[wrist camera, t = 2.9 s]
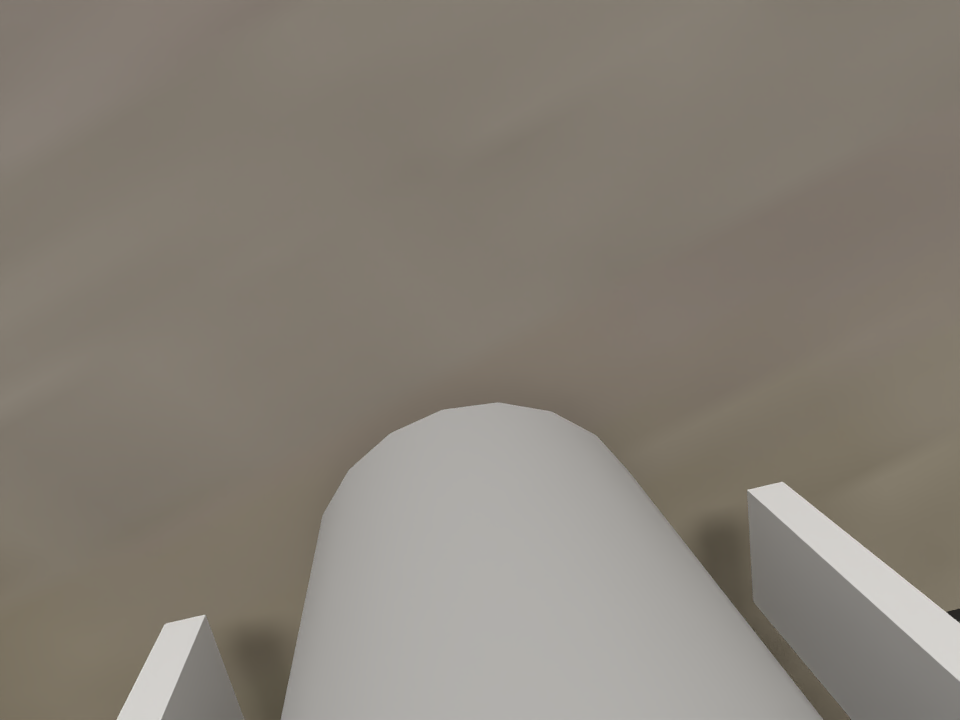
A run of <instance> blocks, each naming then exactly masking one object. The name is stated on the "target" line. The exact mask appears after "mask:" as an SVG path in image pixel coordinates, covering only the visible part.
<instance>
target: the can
mask: <svg viewBox="0 0 960 720" xmlns="http://www.w3.org/2000/svg"><path fill="white" fill-rule="evenodd" d="M281 720H823V718H822V717H821V716H820V715H819V713H818V712H817V711H816V710H815V708H814V707H813V706H812V704H811V703H810V702H809V701H808V699H807V698H806V697H805V695H804V694H803V693H802V692H801V690H800V689H799V688H798V687H797V685H796V684H795V683H794V681H793V680H792V679H791V678H790V676H789V675H788V674H787V673H786V671H785V670H784V669H783V667H782V666H781V665H780V664H779V662H778V661H777V660H776V659H775V657H774V656H773V655H772V653H771V652H770V651H769V650H768V648H767V647H766V646H765V644H764V643H763V642H762V641H761V639H760V638H759V637H758V636H757V634H756V633H755V632H754V630H753V629H752V628H751V627H750V625H749V624H748V623H747V622H746V620H745V619H744V618H743V616H742V615H741V614H740V613H739V611H738V610H737V609H736V607H735V606H734V605H733V604H732V602H731V601H730V600H729V599H728V597H727V596H726V595H725V593H724V592H723V591H722V590H721V588H720V587H719V586H718V585H717V583H716V582H715V581H714V579H713V578H712V577H711V576H710V574H709V573H708V572H707V571H706V569H705V568H704V567H703V565H702V564H701V563H700V562H699V560H698V559H697V558H696V556H695V555H694V554H693V553H692V551H691V550H690V549H689V548H688V546H687V545H686V544H685V542H684V541H683V540H682V539H681V537H680V536H679V535H678V534H677V532H676V531H675V530H674V528H673V527H672V526H671V525H670V523H669V522H668V521H667V520H666V518H665V517H664V516H663V514H662V513H661V512H660V511H659V509H658V508H657V507H656V505H655V504H654V503H653V502H652V500H651V499H650V498H649V497H648V495H647V494H646V493H645V491H644V490H643V489H642V488H641V486H640V485H639V484H638V483H637V481H636V480H635V479H634V477H633V476H632V475H631V474H630V472H629V471H628V470H627V469H626V468H625V467H624V465H623V464H622V463H621V462H620V461H619V460H618V459H617V458H616V457H615V456H614V454H613V453H612V452H611V451H610V450H609V449H608V448H607V447H606V446H605V444H604V443H603V442H602V441H601V440H600V439H599V438H598V437H597V436H596V435H595V434H593V433H591V432H589V431H587V430H585V429H583V428H581V427H580V426H578V425H576V424H574V423H572V422H570V421H568V420H566V419H565V418H563V417H561V416H559V415H557V414H555V413H553V412H551V411H545V410H539V409H534V408H528V407H522V406H516V405H510V404H504V403H499V402H498V403H490V404H483V405H475V406H467V407H460V408H452V409H445V410H441V411H439V412H436V413H434V414H432V415H430V416H427V417H425V418H423V419H421V420H419V421H416V422H414V423H412V424H410V425H407V426H405V427H403V428H401V429H399V430H396V431H394V432H392V433H390V434H389V435H388V436H387V437H386V438H384V439H383V440H382V441H381V442H380V443H379V444H378V445H376V446H375V447H374V448H373V449H372V450H371V451H370V452H369V453H367V454H366V455H365V456H364V457H363V458H362V459H361V460H360V461H358V462H357V463H356V464H355V465H354V466H353V467H352V468H350V469H349V471H348V472H347V474H346V476H345V478H344V479H343V481H342V483H341V484H340V486H339V488H338V490H337V491H336V493H335V495H334V496H333V498H332V500H331V502H330V503H329V505H328V507H327V509H326V510H325V512H324V514H323V516H322V521H321V526H320V531H319V536H318V541H317V546H316V551H315V555H314V560H313V565H312V570H311V575H310V580H309V585H308V589H307V594H306V599H305V604H304V609H303V614H302V619H301V624H300V628H299V633H298V638H297V643H296V648H295V653H294V658H293V662H292V667H291V672H290V677H289V682H288V687H287V692H286V697H285V701H284V706H283V711H282V716H281Z"/></svg>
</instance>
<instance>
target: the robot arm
mask: <svg viewBox="0 0 960 720" xmlns="http://www.w3.org/2000/svg"><path fill="white" fill-rule="evenodd" d="M747 496H748V514H749V533H750V552H751V571H752V590H753V602H754V603H755V605H756V606H757V607H758V608H759V609H760V611H761V612H762V613H763V614H764V615H765V617H766V618H767V619H768V620H769V621H770V623H771V624H772V625H773V626H774V627H775V629H776V630H777V631H778V632H779V633H780V635H781V636H782V637H783V638H784V639H785V641H786V642H787V643H788V644H789V645H790V646H791V648H792V649H793V650H794V651H795V652H796V654H797V655H798V656H799V657H800V658H801V660H802V661H803V662H804V663H805V664H806V666H807V667H808V668H809V669H810V670H811V672H812V673H813V674H814V675H815V676H816V678H817V679H818V680H819V681H820V682H821V684H822V685H823V686H824V687H825V688H826V690H827V691H828V692H829V693H830V694H831V696H832V697H833V698H834V699H835V700H836V702H837V703H838V704H839V705H840V706H841V708H842V709H843V710H844V711H845V712H846V714H847V715H848V716H849V717H850V718H851V720H960V609H956V610H952V611H948V612H945V611H944V610H943V609H941V608H940V607H939V606H938V605H936V604H935V603H934V602H933V601H931V600H930V599H929V598H928V597H926V596H925V595H924V594H923V593H921V592H920V591H919V590H918V589H916V588H915V587H914V586H913V585H911V584H910V583H909V582H908V581H906V580H905V579H904V578H903V577H901V576H900V575H899V574H898V573H896V572H895V571H894V570H893V569H891V568H890V567H889V566H888V565H886V564H885V563H884V562H883V561H881V560H880V559H879V558H877V557H876V556H875V555H874V554H872V553H871V552H870V551H869V550H867V549H866V548H865V547H864V546H862V545H861V544H860V543H859V542H857V541H856V540H855V539H854V538H852V537H851V536H850V535H849V534H847V533H846V532H845V531H844V530H842V529H841V528H840V527H839V526H837V525H836V524H835V523H834V522H832V521H831V520H830V519H829V518H827V517H826V516H825V515H824V514H822V513H821V512H820V511H819V510H817V509H816V508H815V507H814V506H812V505H811V504H810V503H809V502H807V501H806V500H805V499H804V498H802V497H801V496H800V495H799V494H797V493H796V492H795V491H794V490H792V489H791V488H790V487H789V486H787V485H786V484H785V483H784V482H780V483H775V484H771V485H767V486H762V487H758V488H754V489H749V490H747ZM117 720H244V717H243V715H242V712H241V709H240V707H239V704H238V701H237V698H236V696H235V693H234V690H233V688H232V685H231V682H230V679H229V677H228V674H227V671H226V669H225V666H224V663H223V661H222V658H221V655H220V652H219V650H218V647H217V644H216V642H215V639H214V636H213V633H212V631H211V628H210V625H209V623H208V620H207V617H206V615H202V616H197V617H193V618H188V619H184V620H180V621H175V622H171V623H167V624H165V625H164V627H163V629H162V631H161V633H160V635H159V637H158V639H157V641H156V643H155V645H154V647H153V649H152V650H151V652H150V654H149V656H148V658H147V660H146V662H145V664H144V666H143V668H142V670H141V672H140V674H139V676H138V678H137V680H136V682H135V684H134V686H133V688H132V690H131V692H130V694H129V696H128V698H127V700H126V702H125V704H124V706H123V708H122V710H121V712H120V714H119V716H118V718H117Z"/></svg>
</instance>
